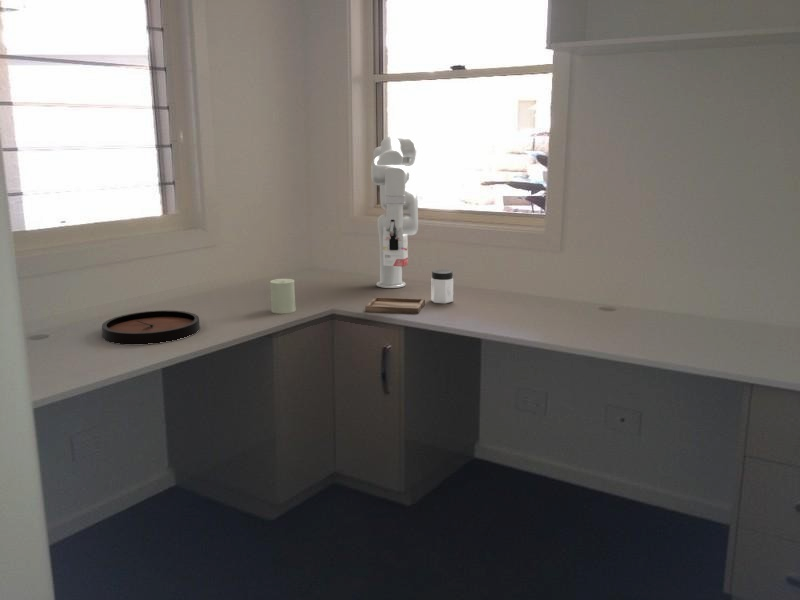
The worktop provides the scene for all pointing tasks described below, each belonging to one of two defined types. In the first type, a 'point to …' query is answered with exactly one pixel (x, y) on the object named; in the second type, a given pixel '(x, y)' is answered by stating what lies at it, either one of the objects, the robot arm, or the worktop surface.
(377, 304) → the tray
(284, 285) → the can
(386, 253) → the ink cartridge box
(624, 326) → the worktop surface
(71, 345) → the worktop surface
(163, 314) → the wall clock
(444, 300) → the jar
